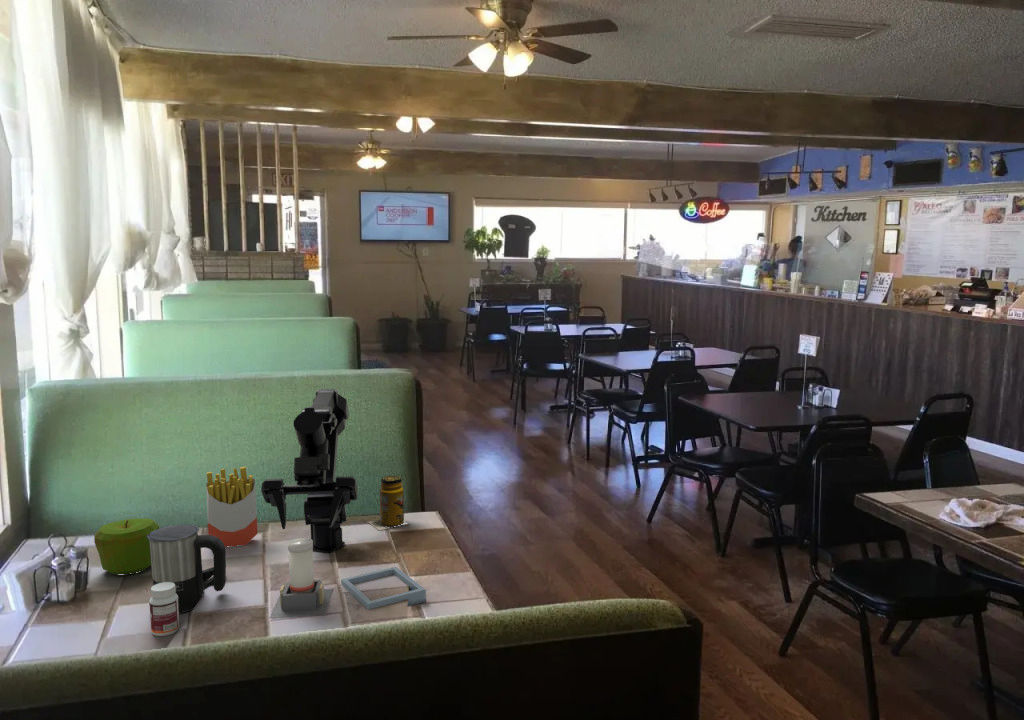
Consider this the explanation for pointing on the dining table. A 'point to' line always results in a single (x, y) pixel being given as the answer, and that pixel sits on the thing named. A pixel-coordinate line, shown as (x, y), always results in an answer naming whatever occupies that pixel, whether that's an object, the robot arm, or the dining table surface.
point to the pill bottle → (164, 609)
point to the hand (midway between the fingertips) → (306, 527)
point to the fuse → (301, 565)
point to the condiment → (390, 503)
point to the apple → (125, 545)
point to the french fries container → (232, 507)
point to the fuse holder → (302, 602)
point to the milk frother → (186, 562)
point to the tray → (413, 595)
